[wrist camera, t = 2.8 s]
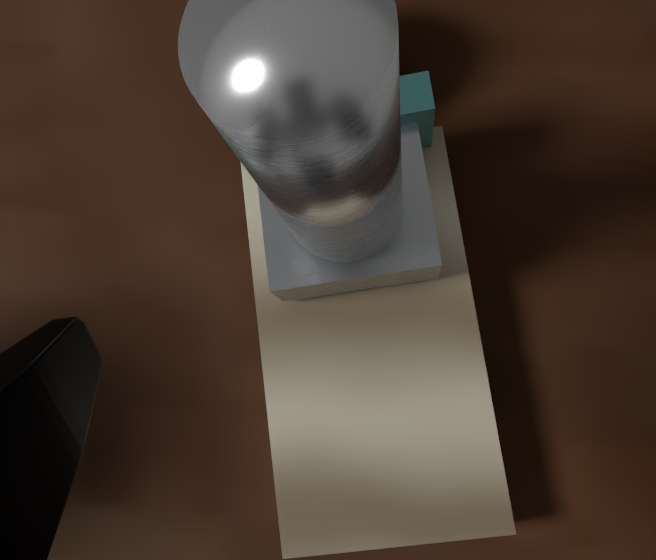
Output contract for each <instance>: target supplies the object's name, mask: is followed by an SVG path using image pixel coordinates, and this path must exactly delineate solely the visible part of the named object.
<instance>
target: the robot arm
mask: <svg viewBox="0 0 656 560" xmlns="http://www.w3.org/2000/svg"><path fill="white" fill-rule="evenodd" d="M101 369H102V361H101V357H100V354H99V352H98V350H97V347H96V345H95V343H94V341H93V339H92V337H91V335H90V333H89V331H88V329H87V327H86V325H85V323H84V322H83V321H82V320H81V319H80V318H77V317H70V318H61V319H55V320H52V321H50V322H48V323H47V324H45V325H44V326H42V327H41V328H39V329H38V330H36V331H35V332H33V333H32V334H30V335H28V336H27V337H25V338H24V339H22V340H21V341H19V342H18V343H16V344H15V345H13V346H12V347H10V348H9V349H7V350H6V351H4V352H2V353H1V354H0V560H47V558H48V555H49V552H50V549H51V546H52V543H53V540H54V537H55V534H56V531H57V528H58V525H59V522H60V520H61V517H62V514H63V511H64V508H65V505H66V502H67V499H68V496H69V493H70V490H71V487H72V484H73V481H74V478H75V475H76V472H77V469H78V467H79V463H80V460H81V457H82V454H83V450H84V446H85V442H86V438H87V434H88V429H89V425H90V420H91V416H92V411H93V407H94V402H95V397H96V393H97V388H98V384H99V379H100V375H101Z"/></svg>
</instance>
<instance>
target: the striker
mask: <svg viewBox="0 0 656 560" xmlns="http://www.w3.org/2000/svg"><path fill="white" fill-rule="evenodd" d="M178 55H179V61H180V67H181V70H182V74H183V77H184V80H185V82H186V84H187V86H188V88H189V90H190V92H191V93H192V95H193V96H194V98H195V99H196V100H197V102H198V103H199V105H200V106H201V107H202V109H203V110H204V112H205V113H206V114H207V116H208V117H209V118H210V120H211V121H212V123H213V124H214V125H215V127H216V128H217V130H218V131H219V132H220V134H221V135H222V136H223V138H224V139H225V141H226V142H227V143H228V145H229V146H230V147H231V149H232V150H233V152H234V153H235V154H236V156H237V157H238V159H239V160H240V161H241V163H242V164H243V165H244V167H245V168H246V170H247V171H248V172H249V174H250V175H251V176H252V178H253V179H254V181H255V182H256V183H257V185H258V193H259V202H260V211H261V220H262V229H263V239H264V248H265V257H266V266H267V275H268V284H269V292H271V293H272V294H273V295H275V296H276V297H278V298H279V299H280V300H282V301H283V302H285V301H292V300H298V299H305V298H312V297H318V296H325V295H331V294H338V293H345V292H351V291H358V290H365V289H371V288H378V287H384V286H391V285H398V284H404V283H411V282H418V281H424V280H431V279H438V278H439V274H440V271H441V267H442V262H441V256H440V250H439V244H438V239H437V233H436V227H435V221H434V215H433V210H432V204H431V198H430V192H429V186H428V181H427V175H426V169H425V163H424V157H423V152H422V148H427V147H431V146H432V136H433V126H434V116H435V104H434V99H433V93H432V88H431V82H430V76H429V71H424V72H418V73H413V74H408V75H402V76H399V36H398V17H397V9H396V5H395V1H394V0H189V2H188V4H187V6H186V9H185V11H184V14H183V17H182V21H181V25H180V29H179V38H178Z"/></svg>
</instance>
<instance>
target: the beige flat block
mask: <svg viewBox="0 0 656 560" xmlns="http://www.w3.org/2000/svg"><path fill="white" fill-rule="evenodd" d="M422 152H423V157H424V163H425V169H426V175H427V181H428V186H429V192H430V198H431V204H432V210H433V215H434V221H435V227H436V233H437V239H438V244H439V250H440V256H441V262H442V267H441V271H440V274H439V278H438V279H431V280H424V281H418V282H411V283H404V284H398V285H391V286H384V287H378V288H371V289H365V290H358V291H351V292H345V293H338V294H331V295H325V296H318V297H312V298H305V299H298V300H292V301H285V302H283V301H282V300H280V299H279V298H278V297H276V296H275V295H273V294H272V293H271V292H269V284H268V275H267V266H266V257H265V248H264V239H263V229H262V220H261V211H260V202H259V193H258V185H257V183H256V182H255V181H254V179H253V178H252V176H251V175H250V174H249V172H248V171H247V170H246V168H245V167H244V165H243V164H242V163H241V170H242V179H243V189H244V198H245V208H246V217H247V227H248V236H249V245H250V255H251V264H252V274H253V283H254V293H255V302H256V312H257V321H258V331H259V340H260V349H261V359H262V368H263V378H264V387H265V397H266V406H267V416H268V425H269V435H270V444H271V454H272V463H273V472H274V482H275V491H276V501H277V510H278V520H279V529H280V539H281V548H282V558H283V559H287V558H297V557H306V556H316V555H325V554H335V553H345V552H354V551H364V550H373V549H383V548H392V547H402V546H411V545H421V544H430V543H440V542H450V541H459V540H469V539H478V538H488V537H497V536H507V535H516V531H515V525H514V519H513V514H512V508H511V503H510V497H509V492H508V486H507V481H506V475H505V470H504V464H503V459H502V453H501V448H500V442H499V437H498V431H497V426H496V420H495V415H494V409H493V404H492V398H491V393H490V387H489V382H488V376H487V371H486V365H485V360H484V354H483V348H482V343H481V337H480V332H479V326H478V321H477V315H476V310H475V304H474V299H473V293H472V288H471V282H470V277H469V271H468V266H467V260H466V255H465V249H464V244H463V238H462V233H461V227H460V222H459V216H458V211H457V205H456V200H455V194H454V188H453V183H452V177H451V172H450V166H449V161H448V155H447V150H446V144H445V139H444V133H443V128H442V126H437V127H433V136H432V146H431V147H427V148H422Z"/></svg>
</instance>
